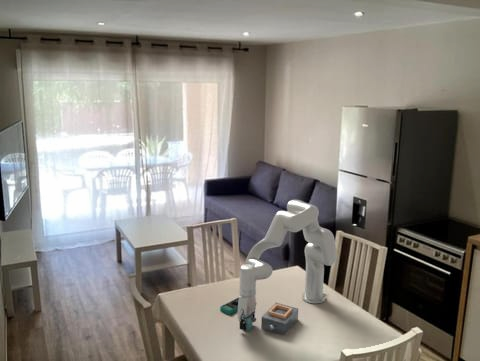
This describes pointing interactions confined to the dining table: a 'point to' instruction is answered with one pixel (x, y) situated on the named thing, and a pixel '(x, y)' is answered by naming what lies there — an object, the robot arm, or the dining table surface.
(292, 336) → the dining table surface
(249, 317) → the cylinder
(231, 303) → the digital multimeter
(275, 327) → the grey box
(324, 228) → the robot arm
